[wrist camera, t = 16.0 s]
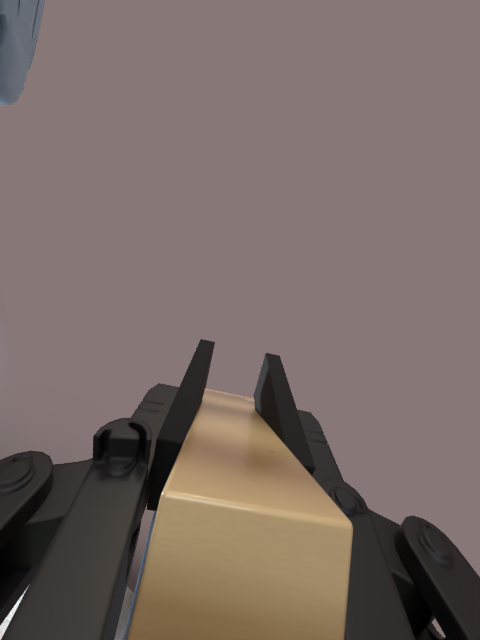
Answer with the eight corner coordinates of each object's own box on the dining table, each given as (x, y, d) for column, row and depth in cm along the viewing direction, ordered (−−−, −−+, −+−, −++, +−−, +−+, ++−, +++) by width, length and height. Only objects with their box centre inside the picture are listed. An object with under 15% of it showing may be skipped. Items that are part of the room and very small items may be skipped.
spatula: (495, 727, 3) (491, 547, 3) (-73, 656, 3) (1, 464, 3) (250, 409, 24) (254, 390, 25) (185, 396, 24) (190, 377, 24)
